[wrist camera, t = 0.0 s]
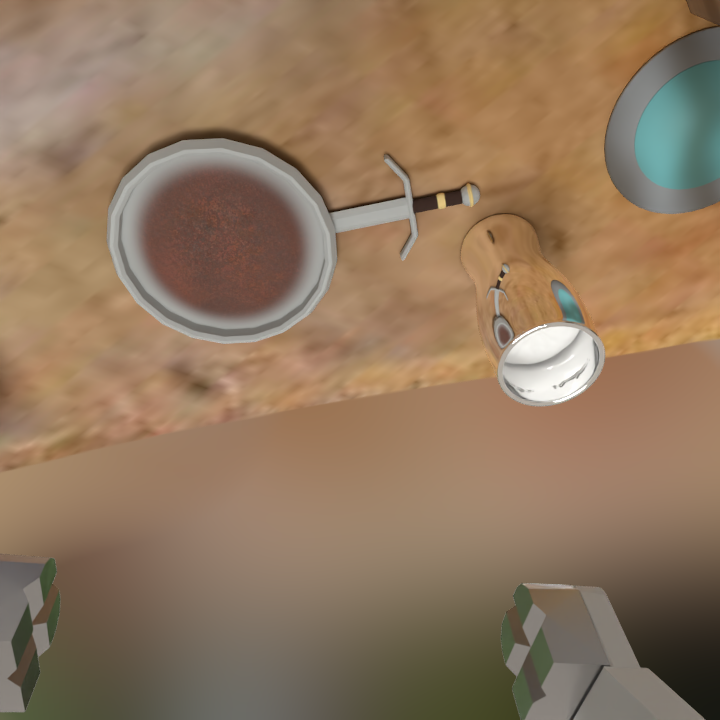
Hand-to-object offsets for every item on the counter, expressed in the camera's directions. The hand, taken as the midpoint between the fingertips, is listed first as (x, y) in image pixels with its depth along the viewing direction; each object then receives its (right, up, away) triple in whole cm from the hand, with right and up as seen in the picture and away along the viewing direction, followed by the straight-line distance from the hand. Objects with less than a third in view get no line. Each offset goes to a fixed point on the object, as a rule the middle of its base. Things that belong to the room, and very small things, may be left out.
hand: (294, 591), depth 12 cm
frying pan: (-4, +15, +39) cm, 41 cm away
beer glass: (+12, +13, +40) cm, 44 cm away
